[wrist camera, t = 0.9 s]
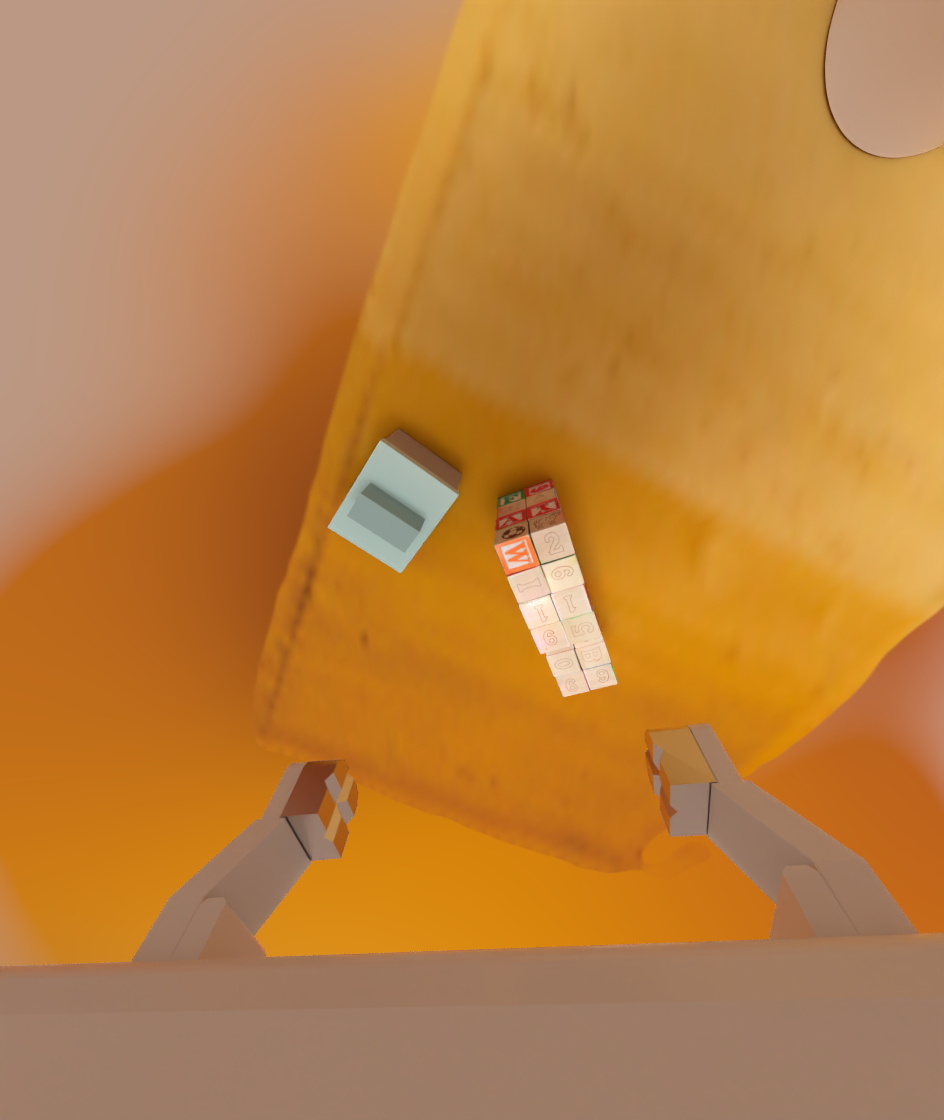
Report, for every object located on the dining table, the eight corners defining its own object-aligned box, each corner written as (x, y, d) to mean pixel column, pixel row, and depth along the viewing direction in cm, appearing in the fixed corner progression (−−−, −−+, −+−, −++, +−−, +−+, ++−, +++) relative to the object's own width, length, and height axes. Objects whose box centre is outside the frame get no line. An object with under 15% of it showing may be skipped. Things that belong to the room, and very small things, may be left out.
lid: (386, 434, 39) (370, 447, 35) (460, 487, 41) (455, 506, 37) (335, 518, 44) (315, 540, 39) (405, 563, 46) (394, 588, 41)
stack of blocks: (601, 632, 54) (625, 707, 43) (552, 644, 55) (565, 720, 45) (551, 477, 45) (566, 522, 34) (495, 497, 47) (493, 546, 36)
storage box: (398, 428, 44) (383, 440, 38) (462, 473, 46) (456, 492, 40) (352, 502, 48) (333, 523, 43) (412, 541, 50) (402, 566, 44)
